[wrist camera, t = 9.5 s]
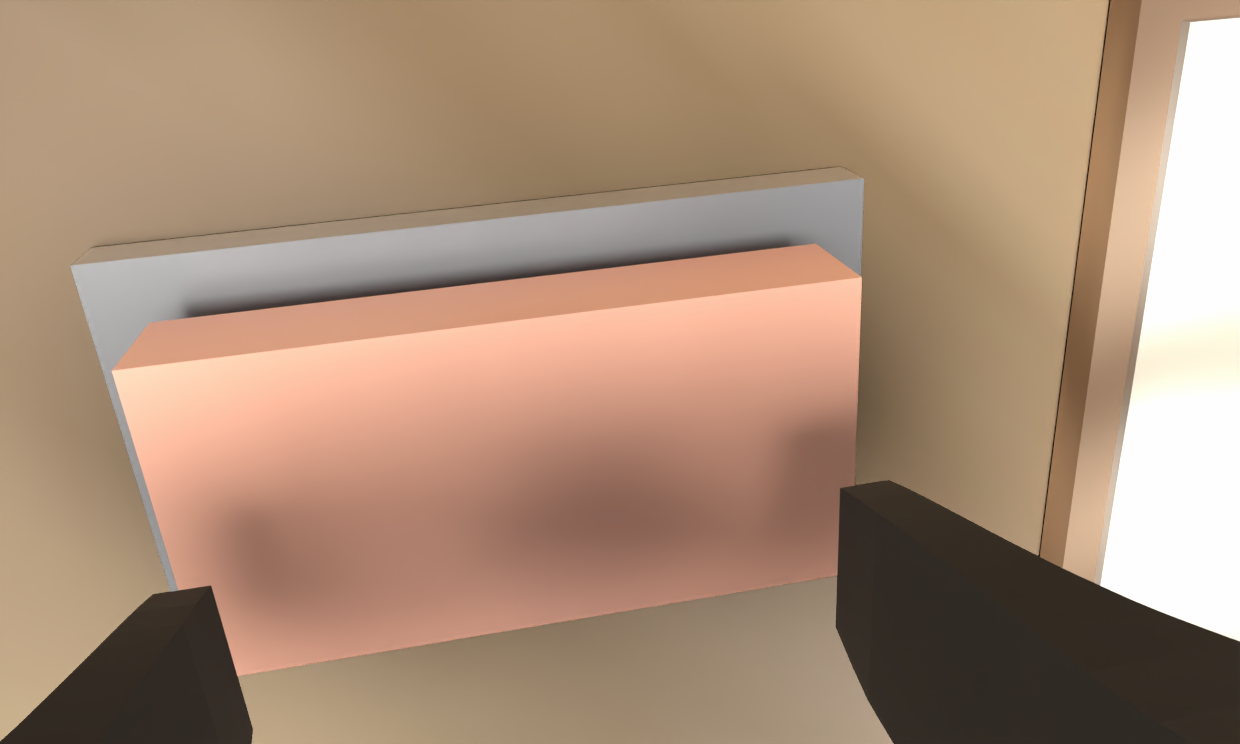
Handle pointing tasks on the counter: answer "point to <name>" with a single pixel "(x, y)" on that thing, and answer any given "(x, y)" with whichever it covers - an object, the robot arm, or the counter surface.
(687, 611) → the counter surface
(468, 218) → the button base
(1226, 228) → the board
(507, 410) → the button
